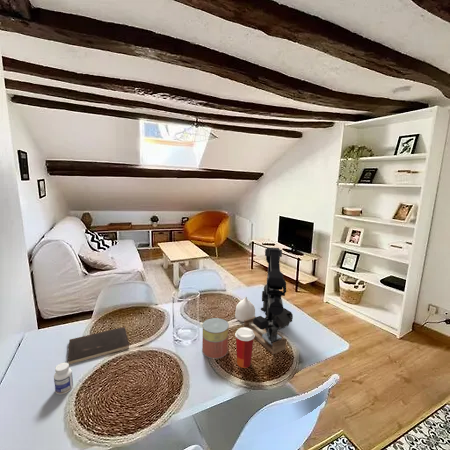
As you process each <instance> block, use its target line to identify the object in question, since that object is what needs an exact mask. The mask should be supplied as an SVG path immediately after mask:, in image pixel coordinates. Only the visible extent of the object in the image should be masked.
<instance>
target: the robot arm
mask: <svg viewBox="0 0 450 450" xmlns="http://www.w3.org/2000/svg"><path fill="white" fill-rule="evenodd" d="M282 255H283V249H280V247H266V248H265V250H264V256H265V261H266V262H267V264H268V266H267V276H266V277H267V278H266V284H265V285H264V286H263V290H262V291H261V302H263V303H262V304H263V305H262V307H261V308H260V310H262V311H264V315H265V317H263V316H262V315H259V316H255V318H254V319H253V324H255V325H256V326H257V327H258V328H260V329H264V330H266V332H267V335H268V336H269V337H270V336H271V328H272V327H273V325H275V326H276V327H277V328H278V329H279V327H281V328H282V329H284V327H285V328H286V327H288V326H289V324H290V323H292V322H293V317H294V316H293V313H292V312H291V311H290V310H288V309H287V308H284V303H283V299H282V297H283V296H284V297H285V296H286V293H287V282H286V279H285V278H284V274H283V273H282V271H281V268H280V267H281V266H280V261H281V258H282ZM266 315H267V317H266ZM272 321H273V325H272ZM278 332H279V330H278V331H277V333H278Z"/></svg>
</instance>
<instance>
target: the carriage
mask: <svg viewBox="0 0 450 450" xmlns="http://www.w3.org/2000/svg"><path fill="white" fill-rule="evenodd" d="M272 325H273V324H272ZM277 331H278V332H279V330H278V328H277V327H276V326H275V325H273V327H272V328H271V336H270V337H269V336H268V335H267V333H265V334H263V335H262V337H263V338H264V340H265V341H266V342H267V343H269V344H270V345H271V346H272V345H273V343H274V342H277V341H279V340H282V339H283V337H282V336H281V335H279V334H278V332H277Z"/></svg>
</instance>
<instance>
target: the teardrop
mask: <svg viewBox="0 0 450 450" xmlns="http://www.w3.org/2000/svg"><path fill="white" fill-rule="evenodd" d="M234 317H235V319H236V320H237V321H239V322H241V323H242V322H243V323H244V320H246V319H249V318H252V317H256V308H255V305H254V304H253V303H252V302H251V300H249V299H248V297H247V296H245V297H244V298H243V299H242V300H240V301H239V302H238V303H237V304H236V306H235V315H234Z"/></svg>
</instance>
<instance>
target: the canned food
mask: <svg viewBox="0 0 450 450" xmlns="http://www.w3.org/2000/svg"><path fill="white" fill-rule="evenodd" d="M201 325H202V342H201V343H202V348H201V352H202V355H204V356H205V357H206V358H208V359H212V358H214V359H213V360H218V359H221V358H223V357H226V355H227V354H228V353H229V352H228V351H229V349H228V347H229V328H230V327H229V326H230V325H229V322H228V321H227V320H225V319H223V318H221V317H219V318H218V317H212V318H207V319H206V320H204V321H203V323H202V324H201Z"/></svg>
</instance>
